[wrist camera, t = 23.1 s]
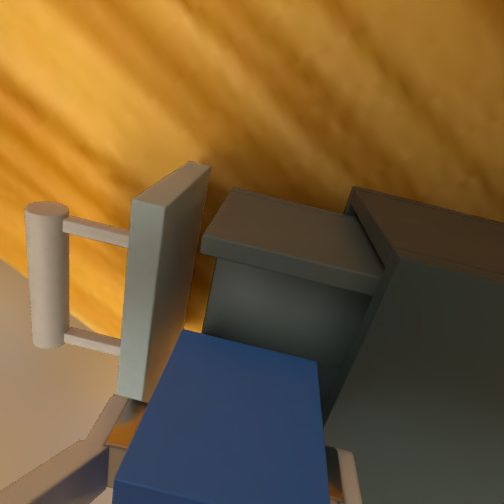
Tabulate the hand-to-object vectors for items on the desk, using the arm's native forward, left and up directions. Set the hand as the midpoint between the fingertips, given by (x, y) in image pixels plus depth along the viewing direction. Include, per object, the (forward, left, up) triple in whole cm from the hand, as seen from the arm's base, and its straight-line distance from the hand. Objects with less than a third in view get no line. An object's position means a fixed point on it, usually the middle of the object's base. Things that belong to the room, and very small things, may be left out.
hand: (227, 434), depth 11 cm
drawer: (-1, -1, -11) cm, 11 cm away
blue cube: (0, 0, -2) cm, 2 cm away
